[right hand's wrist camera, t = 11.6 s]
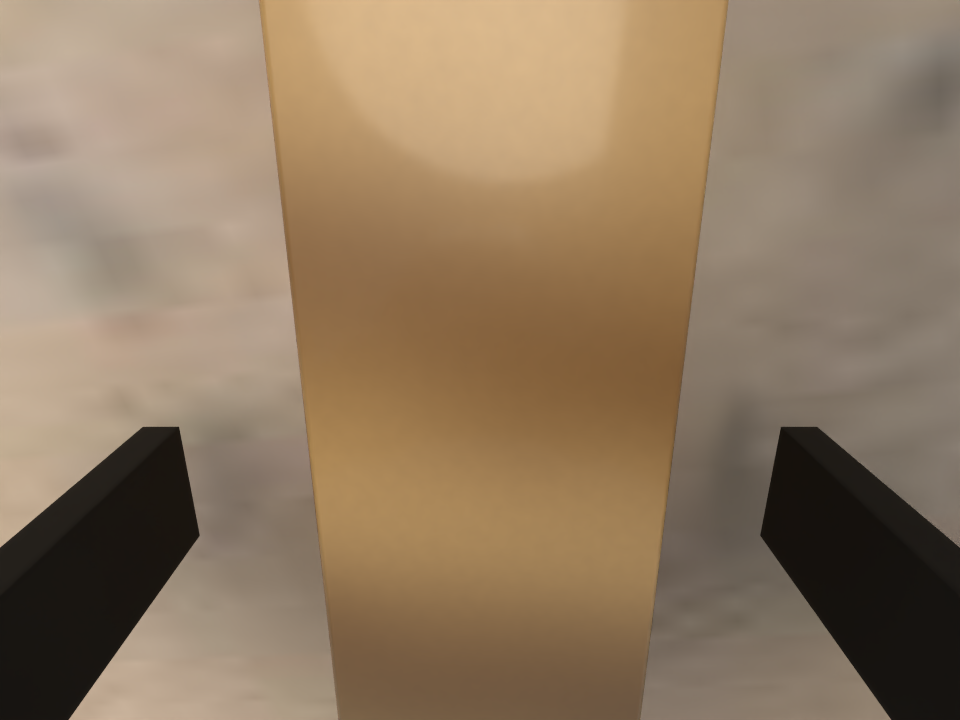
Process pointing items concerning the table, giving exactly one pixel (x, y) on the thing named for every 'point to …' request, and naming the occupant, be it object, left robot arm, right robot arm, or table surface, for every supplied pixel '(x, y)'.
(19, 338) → the table surface
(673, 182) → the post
